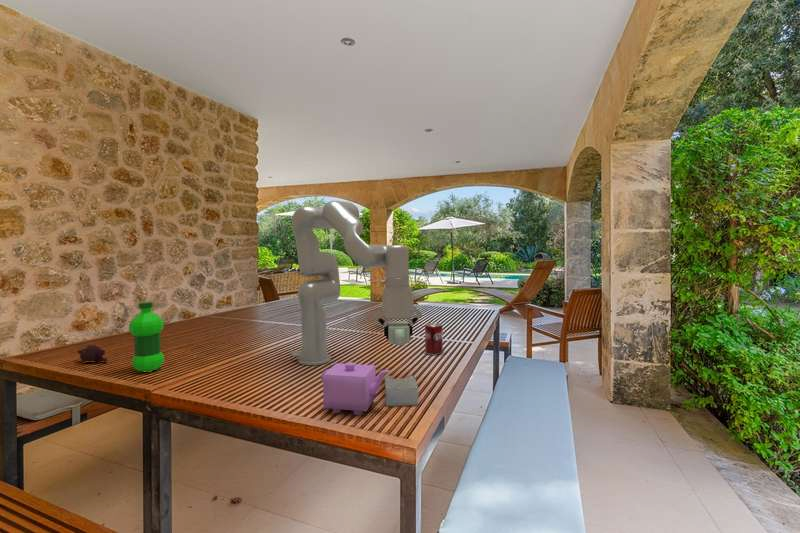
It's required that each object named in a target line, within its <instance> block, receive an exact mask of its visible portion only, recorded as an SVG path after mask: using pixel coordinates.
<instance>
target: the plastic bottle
mask: <svg viewBox="0 0 800 533" xmlns="http://www.w3.org/2000/svg"><path fill="white" fill-rule="evenodd" d="M153 307H154V302H153V301H143V302H139V303H138V309H140V313H138V314H137V315H136V316H135V317H134V318H132V320H130V322H129V324H128V329H129V330H128V331H129V333H130V334H131V335H133V343H134V344H133V346H134V356H133V358H132V360H131V365H132V366H133V368H134V369H135V370H136V371H138V372H140V371H151V370H155V369H157V370H158V369H159V368H160V367H161V366H162V365H163V364H164V361H165V356H164V353H163V352H162V351H161V350H162V349H161V348H162V347H161V345H162V344H161V332H162V331H163V329H164V325H165V321H164V320H163V318H162V317H160V316H159V315H158V314H157V313H155V312H152V308H153Z"/></svg>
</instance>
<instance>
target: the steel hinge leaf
mask: <svg viewBox="0 0 800 533" xmlns="http://www.w3.org/2000/svg"><path fill="white" fill-rule="evenodd" d="M384 393H385V406H386V407H402V406H403V407H405V406H406V407H409V406H419V387H418V383H417V380H416V377H415V375H411V374H410V375H406V377H405V378H404V377H403V378H393V375H384Z"/></svg>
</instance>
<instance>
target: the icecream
mask: <svg viewBox="0 0 800 533" xmlns="http://www.w3.org/2000/svg"><path fill="white" fill-rule="evenodd" d="M77 353H78V354H79V355H80V356H79V358H80V360H81V362H84V361H96V362H100V361H107V360H108V359H107V358H106V357H104V355H105V353H106V350H105V349H102V348H101V347H99V346H98V345H96V344H92V345H88V346H87V347H86V348H83V349H78V350H77ZM97 360H98V361H97ZM107 362H108V361H107Z"/></svg>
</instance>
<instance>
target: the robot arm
mask: <svg viewBox="0 0 800 533" xmlns="http://www.w3.org/2000/svg"><path fill="white" fill-rule="evenodd" d="M359 218H360V210H359V208H358V207H357V205H356V204H354V203H352V202H350V201H349V202H348V201H342V200H341V201H340V200H330V201H328V202H326V203H325V204H324V205H323V206H317V205H304V206H300V207H298V208H297V209H296V210H295V211H294V213H293V215H292V218H291V228H292V232H293V236H294V239H295V240H294V241H295V242H296V243H295V245H296V253H297V261H298V270H299V272H300V274H301V276H303V277H307V278H308V277H309V278H311V277H321V278H320V279H311V280H307V281H304V282H302V283H301V284H299V285H300V286H299V287H298V289H297V297H298V298H297V299H298V302H299V306H300V321H301V323H300V326H301V349H298V350H291V351H290V356H292V357H293V358H296V357H297V358H298V359H297V362H298V364H300V365H303V366H317V365H318V366H321V365H324V364H328V363H329V362H331V360H332V355H330V354H328V346H327V345H328V344H327V343H328V341H327V339H328V338H327V337H328V336H327V314H326V310H325V309H324V308H323V306H322V304H328V303H332V302H336V301H337V300H338V299H339V297H340V296H341V282H340V281H341V280H340V274H339V272H340V271H339V265H338V261H337V258H336V257H335V256H334V255H333V253H331V252H327V251H321V250H320V243H319V239H318V237H317V236H316V233H315V231H313V229H318V230H332V229H333V230H335V231H336V232H337V234H339V235H340V237H341V238H343V245H344V249H345V251H346V254H347V255H348V256H349V257H350V258H351V259H352V260H353V261H354V263H356V264H357V265H359V266H360V267H362V268H363V269H371V268H373V269H374V268H384V267H385V278H384V279H381V281H380V284H381V285H385V287H383V291H382V298H381V299H382V301H381V303H382V304H381V307H380V308H379V309H377V310H376V312H374V313H373V317H374V318H375V320H377V321H378V322H379V323H380V325H382V326H383V336H384V337H386V340H388V339H389V337H388V322H390V320H407V321H408V322H407V323H408V325H409V328H410V339H411V336H413V326H414V325H415V324H416V322H417V321H418V320H419V319H420V318H421V317H423V313H422V312H421V311H420V310H419V309H418V308H417V307H416V306H414V305H415V304H414V296H413V295H414V294H413V289H412V287H411V286H410V275H409V274H410V272H409V270H410V268H409V267H410V266H409V265H410V263H409V262H410V261H409V259H410V258H409V256H410V255H409V252H410V251H409V247H408V246H407V245H405V244H391V245H389V244H367V243H366V242H365V241H364V240H363V238H361V237H360V236H361V235H362V233H363V230H364V224H363V222H362V221H361V220H360V219H359ZM380 314H381V315H382V317H383V318H382V317H381V316H380ZM415 314H416V315H415ZM414 315H415V316H414Z"/></svg>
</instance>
